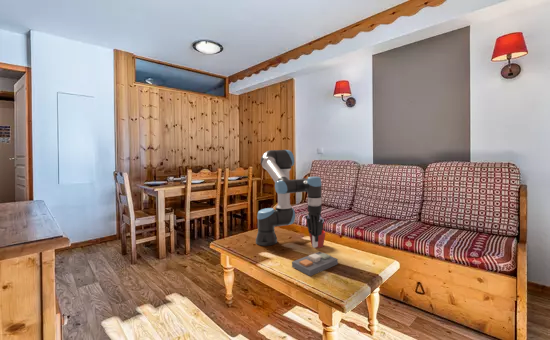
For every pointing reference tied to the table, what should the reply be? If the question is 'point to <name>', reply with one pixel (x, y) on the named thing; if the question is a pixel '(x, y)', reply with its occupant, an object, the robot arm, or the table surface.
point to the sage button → (324, 255)
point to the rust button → (305, 262)
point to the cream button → (314, 258)
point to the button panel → (315, 265)
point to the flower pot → (319, 239)
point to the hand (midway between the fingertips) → (315, 246)
